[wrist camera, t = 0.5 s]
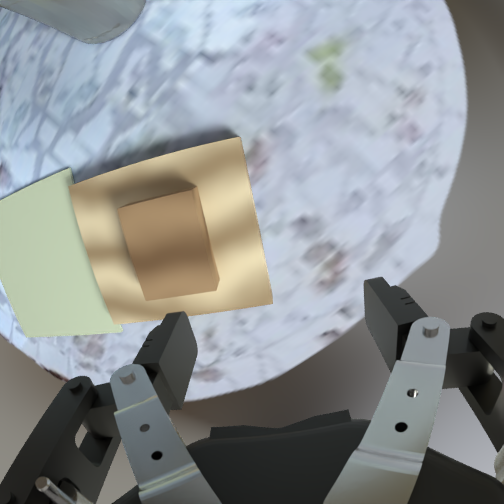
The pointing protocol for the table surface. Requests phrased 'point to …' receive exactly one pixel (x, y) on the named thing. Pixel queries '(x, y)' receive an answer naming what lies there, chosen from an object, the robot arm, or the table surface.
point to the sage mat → (49, 263)
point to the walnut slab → (170, 245)
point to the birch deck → (217, 220)
